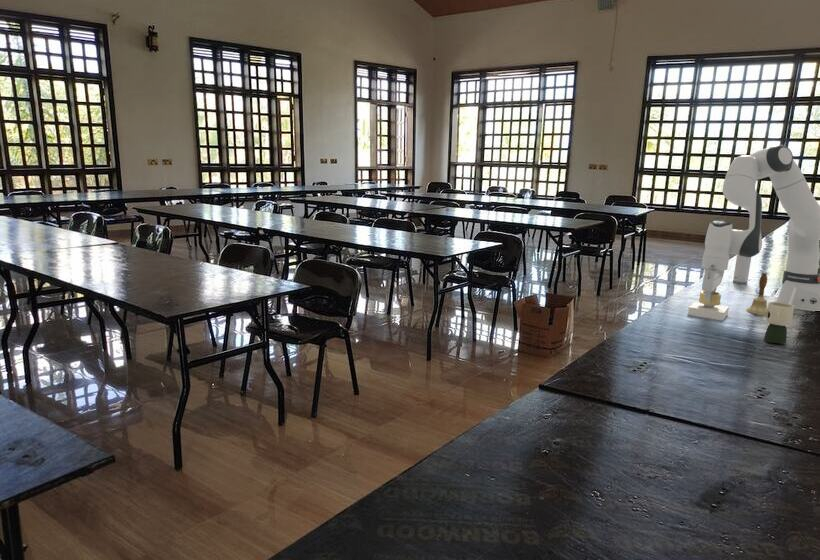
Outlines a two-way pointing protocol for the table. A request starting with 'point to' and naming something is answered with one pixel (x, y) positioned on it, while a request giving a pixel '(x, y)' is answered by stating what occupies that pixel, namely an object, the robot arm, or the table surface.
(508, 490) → the table surface
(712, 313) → the block
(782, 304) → the character mug
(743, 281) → the travel mug
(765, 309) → the hand bell
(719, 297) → the brass ring
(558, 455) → the table surface
